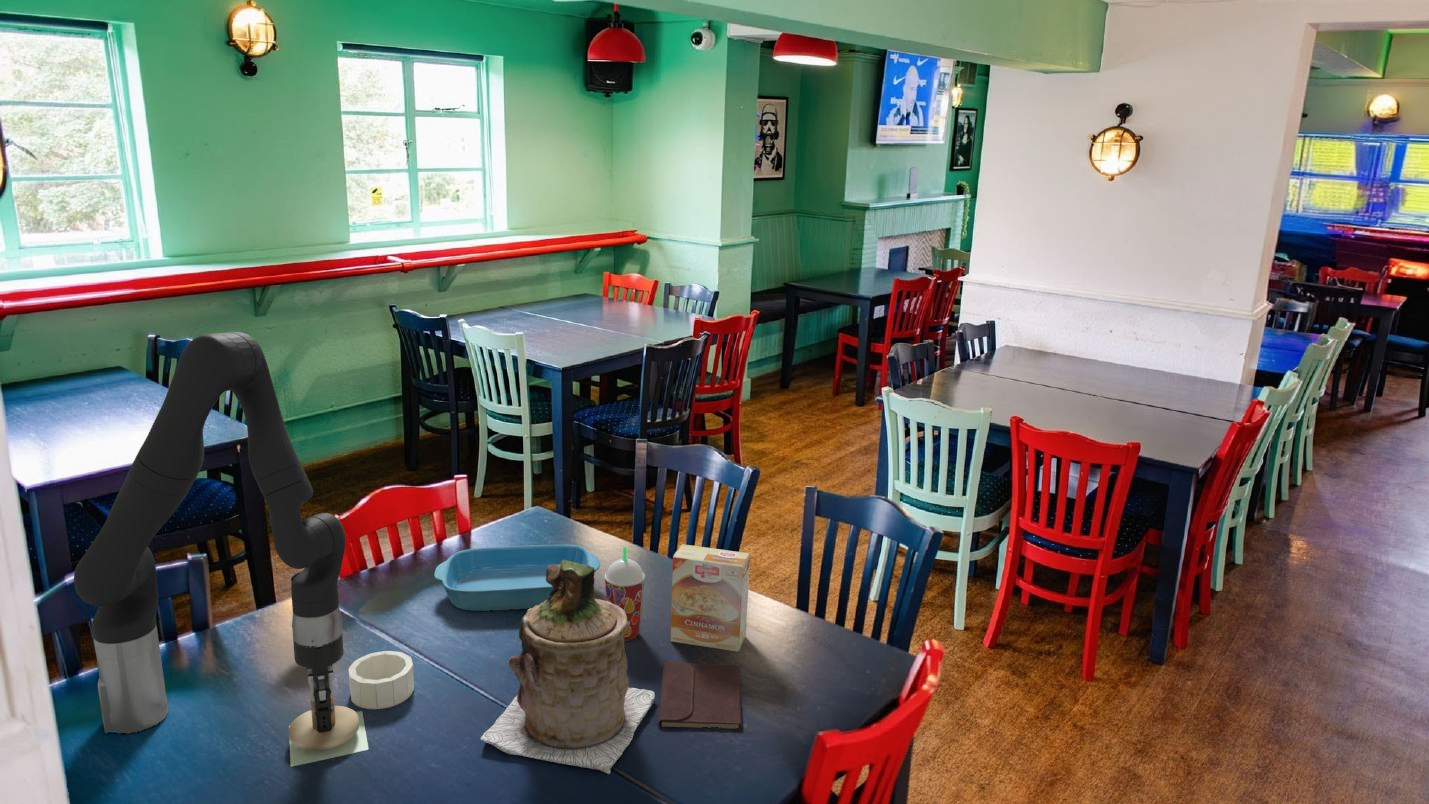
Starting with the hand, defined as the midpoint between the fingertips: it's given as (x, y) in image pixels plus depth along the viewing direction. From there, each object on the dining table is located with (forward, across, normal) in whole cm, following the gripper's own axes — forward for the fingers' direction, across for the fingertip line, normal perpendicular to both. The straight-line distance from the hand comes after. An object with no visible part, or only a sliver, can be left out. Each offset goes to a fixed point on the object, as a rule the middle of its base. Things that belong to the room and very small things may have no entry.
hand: (324, 723), depth 160 cm
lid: (+1, 0, 0) cm, 1 cm away
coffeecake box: (+3, -9, +75) cm, 76 cm away
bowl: (+4, -11, +10) cm, 16 cm away
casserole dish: (+4, -44, +43) cm, 62 cm away
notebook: (+4, +10, +65) cm, 66 cm away
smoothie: (+3, -16, +59) cm, 62 cm away
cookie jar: (+3, +10, +41) cm, 42 cm away
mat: (+4, 0, 0) cm, 4 cm away
